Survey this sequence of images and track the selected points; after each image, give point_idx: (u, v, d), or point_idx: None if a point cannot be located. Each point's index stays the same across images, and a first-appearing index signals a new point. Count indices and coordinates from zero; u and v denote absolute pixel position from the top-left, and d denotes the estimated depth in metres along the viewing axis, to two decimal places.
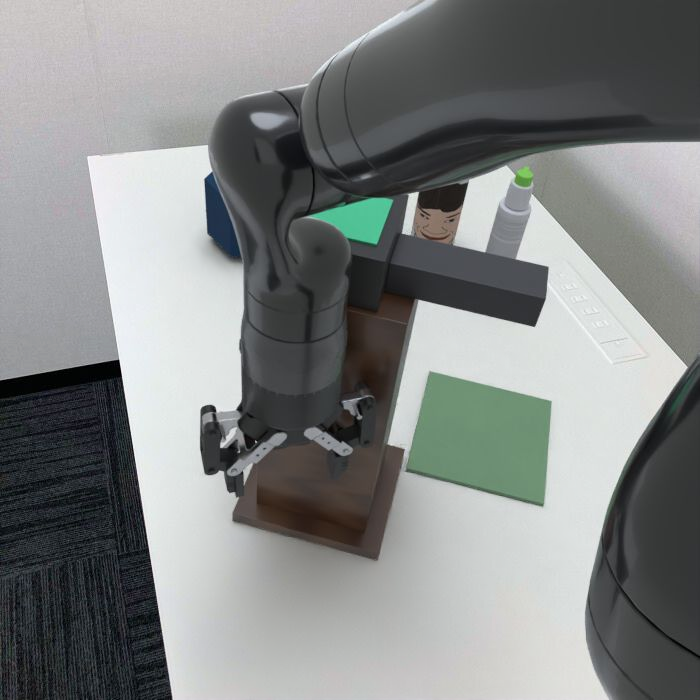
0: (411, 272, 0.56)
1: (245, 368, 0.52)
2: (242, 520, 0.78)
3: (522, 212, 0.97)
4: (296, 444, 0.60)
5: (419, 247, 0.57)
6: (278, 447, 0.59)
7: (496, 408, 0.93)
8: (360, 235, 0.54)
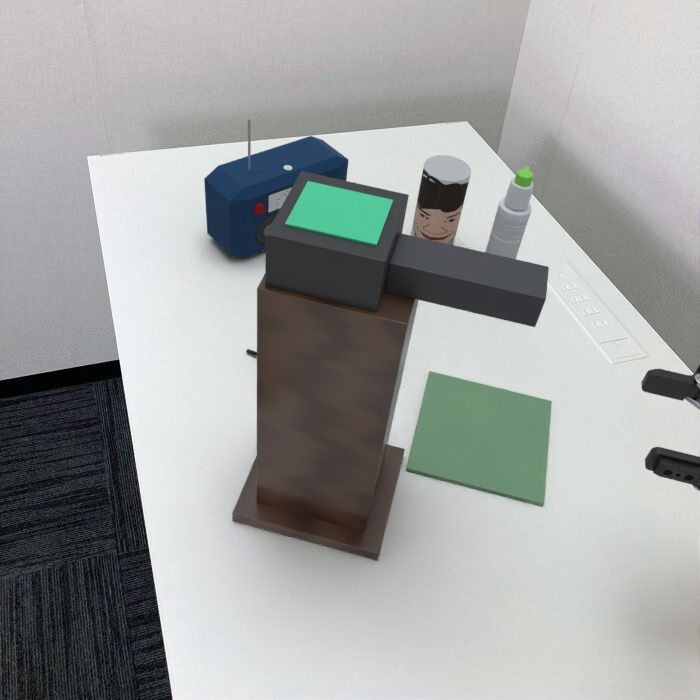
0: (411, 272, 0.56)
1: None
2: (242, 520, 0.78)
3: (522, 212, 0.97)
4: None
5: (419, 247, 0.57)
6: None
7: (496, 408, 0.93)
8: (360, 235, 0.54)
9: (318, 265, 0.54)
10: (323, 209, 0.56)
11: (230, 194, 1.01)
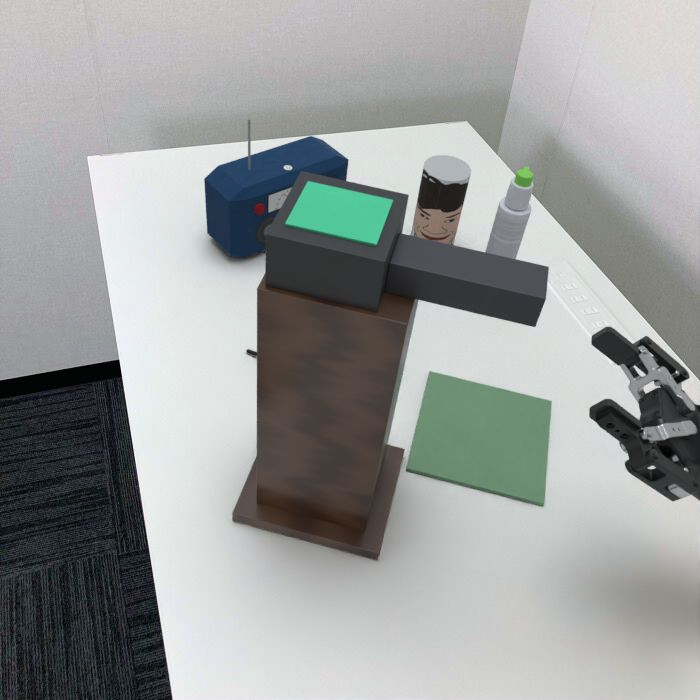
0: (411, 272, 0.56)
1: None
2: (242, 520, 0.78)
3: (522, 212, 0.97)
4: (661, 407, 0.61)
5: (419, 247, 0.57)
6: (661, 394, 0.62)
7: (496, 408, 0.93)
8: (360, 235, 0.54)
9: (318, 265, 0.54)
10: (323, 209, 0.56)
11: (230, 194, 1.01)
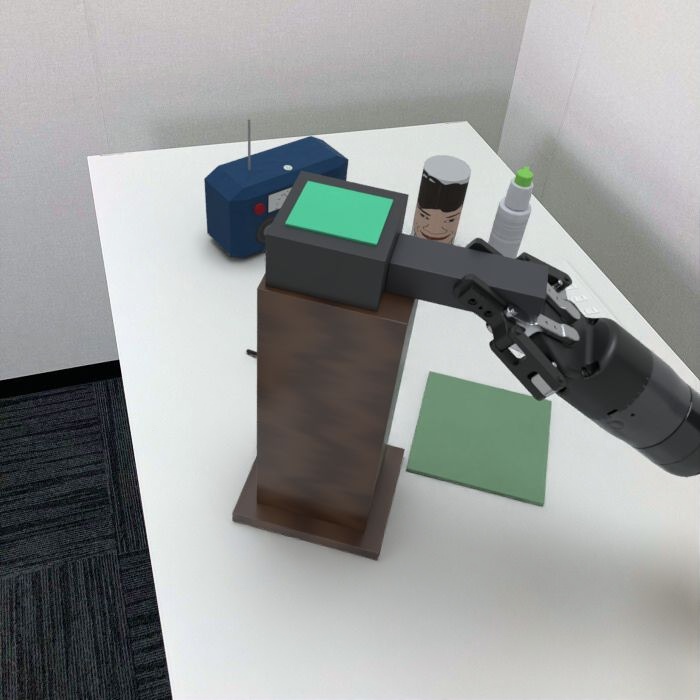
0: (411, 272, 0.56)
1: None
2: (242, 520, 0.78)
3: (522, 212, 0.97)
4: (541, 314, 0.58)
5: (419, 247, 0.58)
6: None
7: (496, 408, 0.93)
8: (360, 235, 0.54)
9: (318, 265, 0.54)
10: (323, 209, 0.56)
11: (230, 194, 1.01)
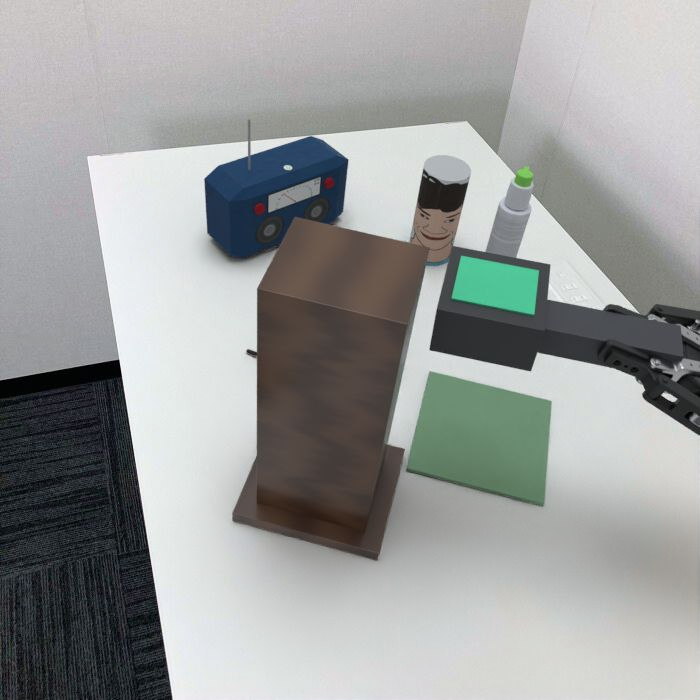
0: (561, 335, 0.64)
1: None
2: (242, 520, 0.78)
3: (522, 212, 0.97)
4: (685, 357, 0.64)
5: (564, 312, 0.65)
6: (685, 345, 0.65)
7: (496, 408, 0.93)
8: (518, 306, 0.62)
9: (482, 334, 0.62)
10: (481, 282, 0.64)
11: (230, 194, 1.01)
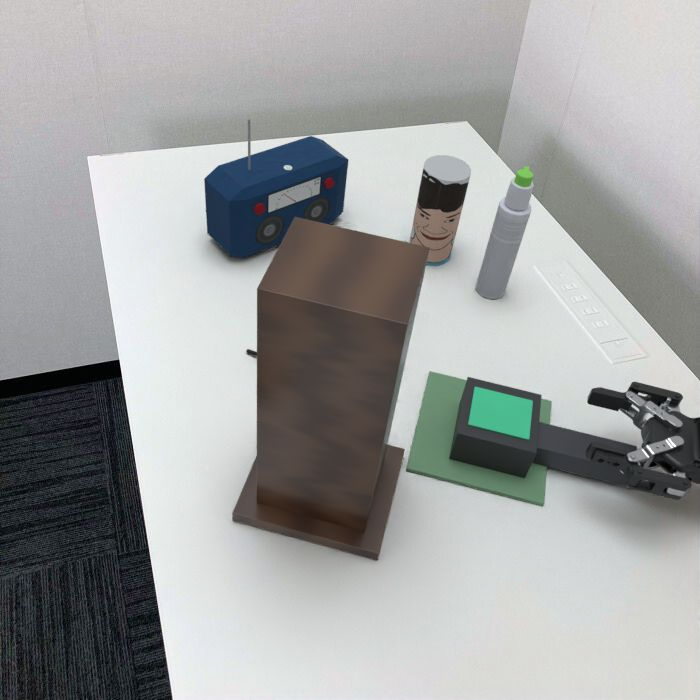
0: (548, 452, 0.85)
1: None
2: (242, 520, 0.78)
3: (522, 212, 0.97)
4: (650, 433, 0.81)
5: (550, 433, 0.87)
6: (650, 423, 0.82)
7: None
8: (517, 432, 0.83)
9: (490, 451, 0.84)
10: (489, 411, 0.85)
11: (230, 194, 1.01)
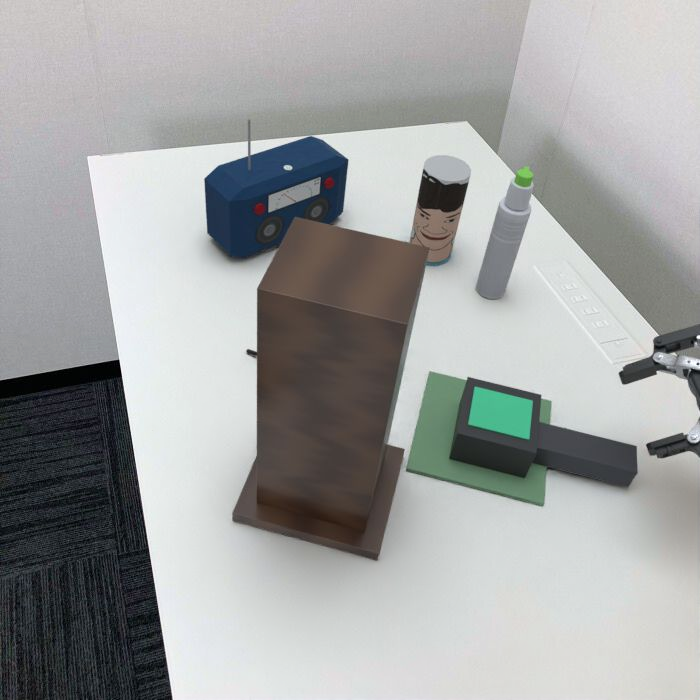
0: (548, 452, 0.85)
1: None
2: (242, 520, 0.78)
3: (522, 212, 0.97)
4: (697, 394, 0.75)
5: (550, 433, 0.87)
6: (692, 380, 0.75)
7: None
8: (517, 432, 0.83)
9: (490, 451, 0.84)
10: (489, 411, 0.85)
11: (230, 194, 1.01)
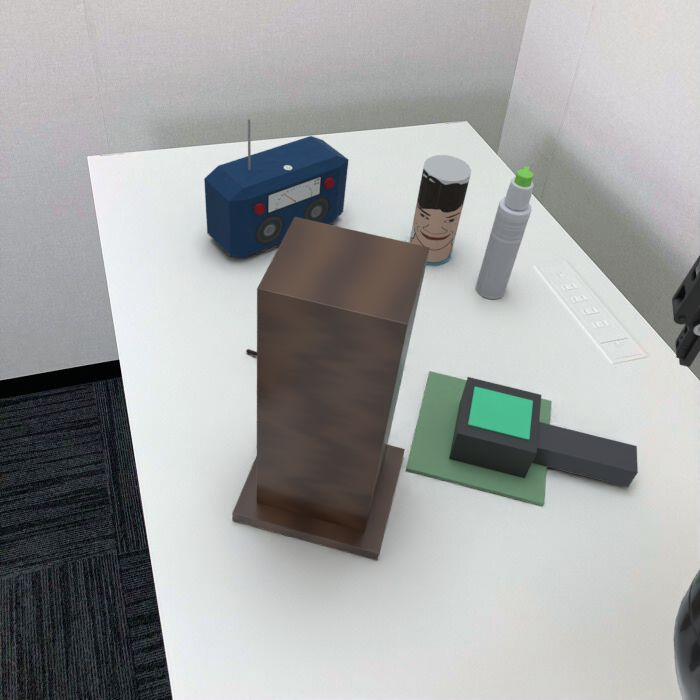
0: (548, 452, 0.85)
1: None
2: (242, 520, 0.78)
3: (522, 212, 0.97)
4: None
5: (550, 433, 0.87)
6: None
7: None
8: (517, 432, 0.83)
9: (490, 451, 0.84)
10: (489, 411, 0.85)
11: (230, 194, 1.01)
